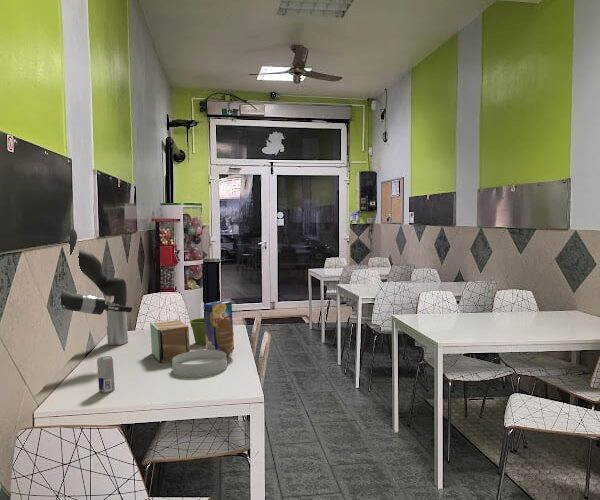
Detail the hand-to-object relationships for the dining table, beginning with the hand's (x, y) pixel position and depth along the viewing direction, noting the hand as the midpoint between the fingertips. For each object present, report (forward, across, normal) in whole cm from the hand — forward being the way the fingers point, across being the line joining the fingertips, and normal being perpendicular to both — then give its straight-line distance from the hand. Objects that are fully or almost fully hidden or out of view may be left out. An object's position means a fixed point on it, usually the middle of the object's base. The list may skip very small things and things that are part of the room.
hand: (131, 309), depth 226 cm
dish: (+20, +35, -18) cm, 44 cm away
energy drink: (-16, +36, -28) cm, 49 cm away
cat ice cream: (+36, +27, -13) cm, 47 cm away
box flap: (+13, +6, -19) cm, 24 cm away
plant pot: (+40, -4, -12) cm, 42 cm away
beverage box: (+40, +15, -12) cm, 44 cm away
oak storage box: (+20, +8, -17) cm, 27 cm away
